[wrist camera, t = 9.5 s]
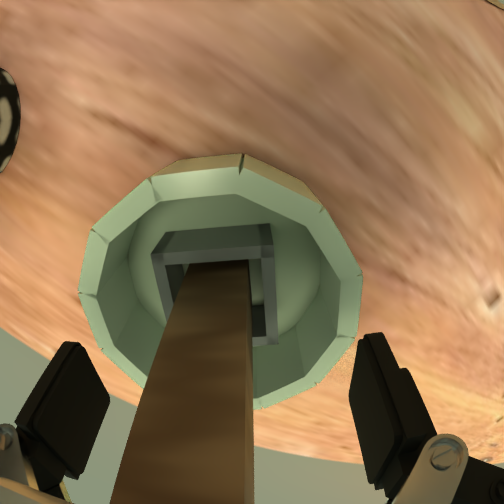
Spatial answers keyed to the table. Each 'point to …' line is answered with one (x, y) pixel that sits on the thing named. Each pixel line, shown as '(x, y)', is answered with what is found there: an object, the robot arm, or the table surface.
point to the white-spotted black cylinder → (8, 117)
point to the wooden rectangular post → (197, 398)
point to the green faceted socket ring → (225, 249)
